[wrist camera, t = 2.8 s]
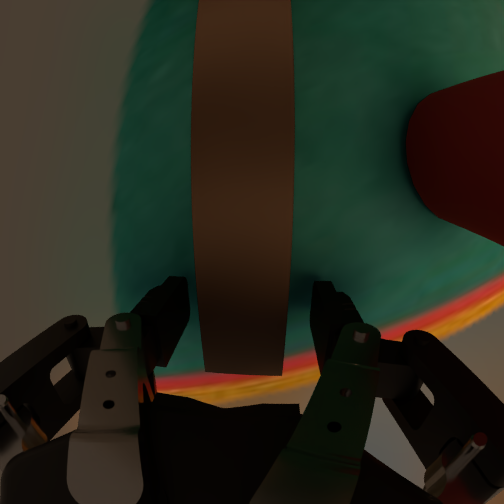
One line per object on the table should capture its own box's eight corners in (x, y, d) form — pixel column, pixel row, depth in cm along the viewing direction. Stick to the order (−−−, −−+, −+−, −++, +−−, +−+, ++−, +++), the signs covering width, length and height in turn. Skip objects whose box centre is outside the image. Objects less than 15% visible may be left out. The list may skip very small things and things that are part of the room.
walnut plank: (222, -18, 8) (208, -63, 5) (281, -19, 8) (284, -66, 4) (220, 320, 14) (205, 371, 10) (279, 322, 14) (281, 375, 10)
